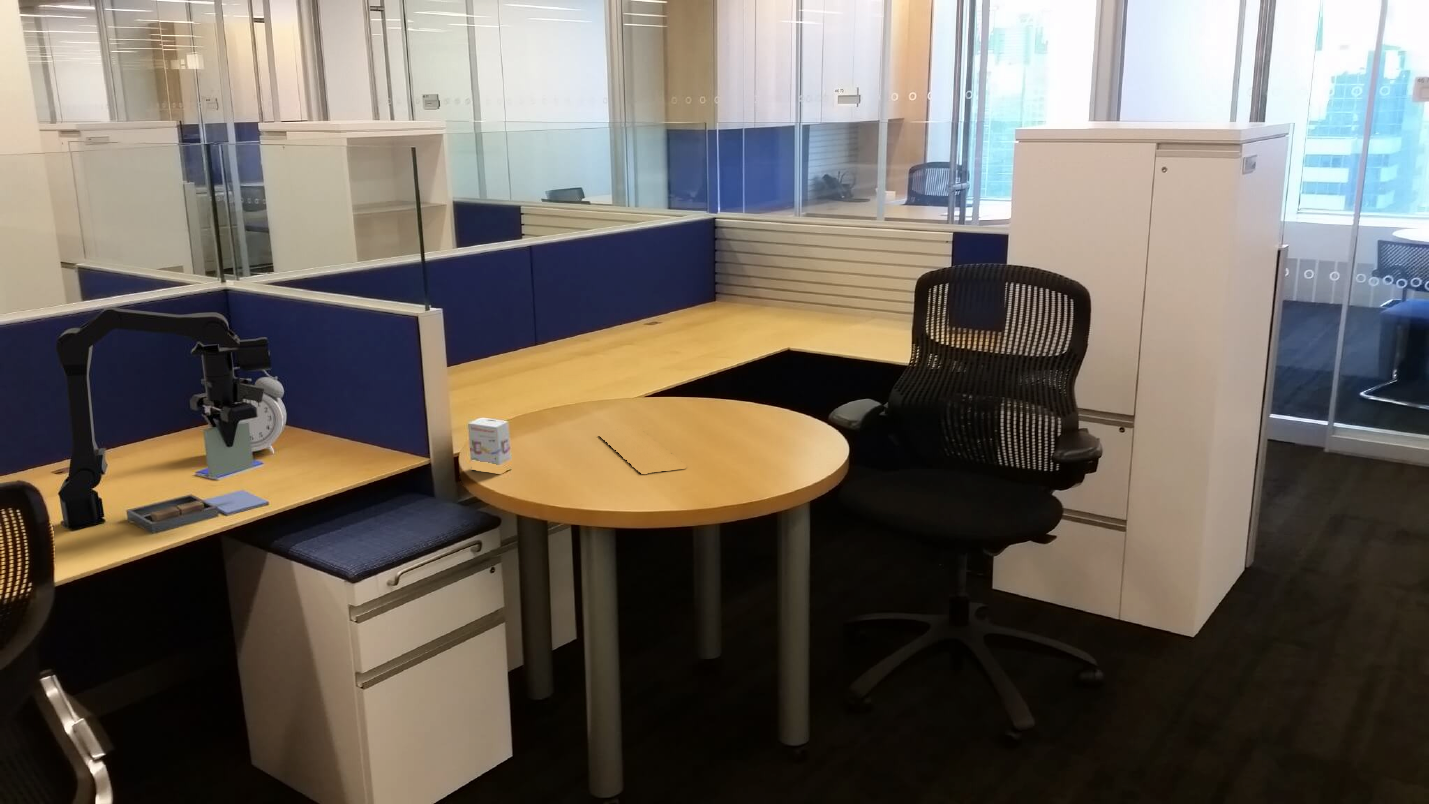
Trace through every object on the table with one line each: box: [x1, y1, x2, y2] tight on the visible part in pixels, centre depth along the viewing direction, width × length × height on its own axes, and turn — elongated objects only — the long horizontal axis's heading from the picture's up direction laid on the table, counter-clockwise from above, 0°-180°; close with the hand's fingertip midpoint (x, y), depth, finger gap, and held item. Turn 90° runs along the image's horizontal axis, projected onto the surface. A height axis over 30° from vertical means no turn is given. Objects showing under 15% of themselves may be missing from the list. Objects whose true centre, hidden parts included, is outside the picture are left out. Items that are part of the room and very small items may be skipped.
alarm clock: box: [233, 366, 287, 455], centre depth 270 cm, size 16×9×22 cm, turn 104°
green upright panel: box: [202, 421, 254, 477], centre depth 233 cm, size 9×2×10 cm, turn 138°
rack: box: [125, 493, 220, 534], centre depth 227 cm, size 13×13×2 cm
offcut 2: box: [176, 501, 204, 515], centre depth 227 cm, size 4×3×3 cm
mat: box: [203, 489, 270, 516], centre depth 235 cm, size 9×12×1 cm
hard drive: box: [194, 459, 265, 481], centre depth 259 cm, size 2×8×12 cm
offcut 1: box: [151, 507, 180, 522], centre depth 223 cm, size 4×3×3 cm
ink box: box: [467, 417, 512, 465], centre depth 255 cm, size 9×5×12 cm, turn 65°
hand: (227, 446), depth 232 cm, fingers closed on green upright panel, 2 cm apart
